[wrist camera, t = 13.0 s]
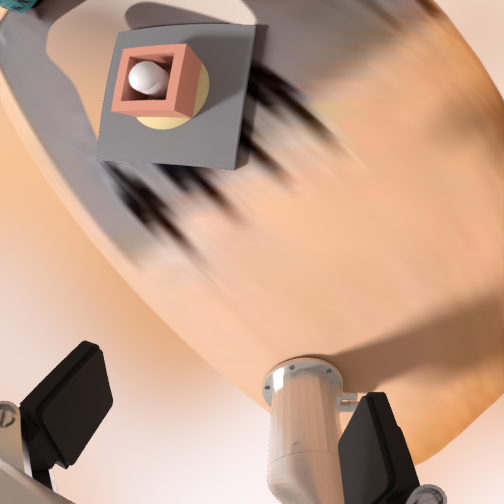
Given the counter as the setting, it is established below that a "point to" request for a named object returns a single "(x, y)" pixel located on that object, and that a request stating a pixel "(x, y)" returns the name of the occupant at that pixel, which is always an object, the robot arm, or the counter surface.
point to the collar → (179, 87)
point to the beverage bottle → (17, 5)
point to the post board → (206, 103)
